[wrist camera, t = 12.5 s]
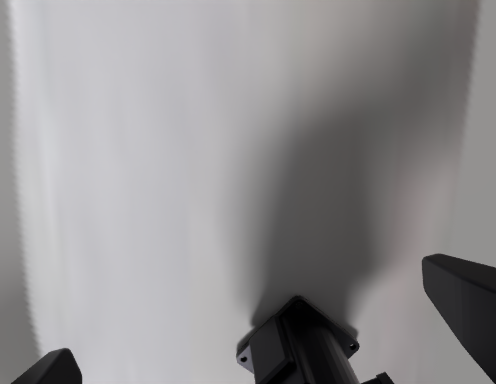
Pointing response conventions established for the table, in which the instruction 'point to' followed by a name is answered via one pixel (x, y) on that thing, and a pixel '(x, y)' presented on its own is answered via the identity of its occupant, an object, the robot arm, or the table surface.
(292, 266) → the table surface
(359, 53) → the table surface
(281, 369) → the robot arm
